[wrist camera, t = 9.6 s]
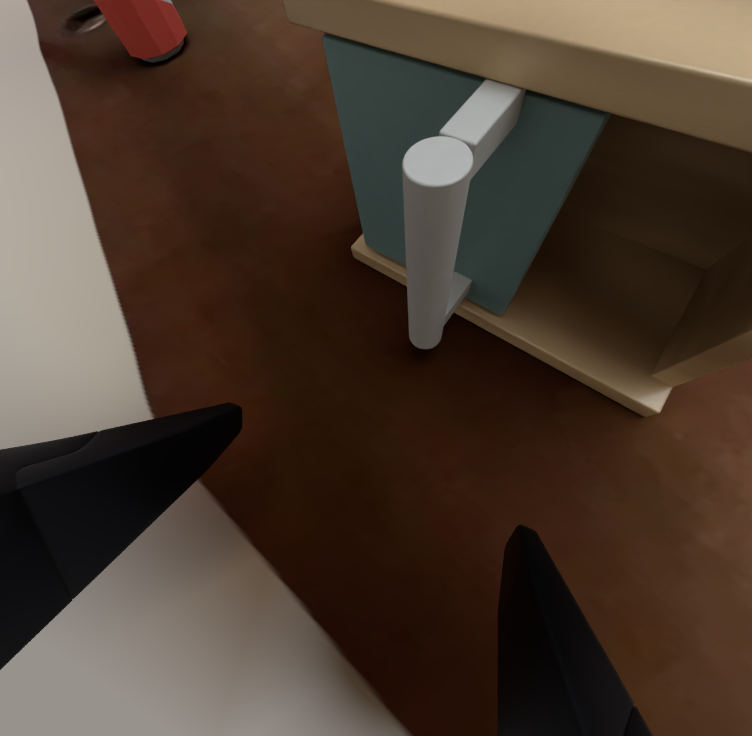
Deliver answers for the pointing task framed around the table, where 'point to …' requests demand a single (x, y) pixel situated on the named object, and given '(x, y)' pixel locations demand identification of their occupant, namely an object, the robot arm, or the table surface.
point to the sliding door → (454, 174)
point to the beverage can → (145, 27)
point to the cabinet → (610, 176)
